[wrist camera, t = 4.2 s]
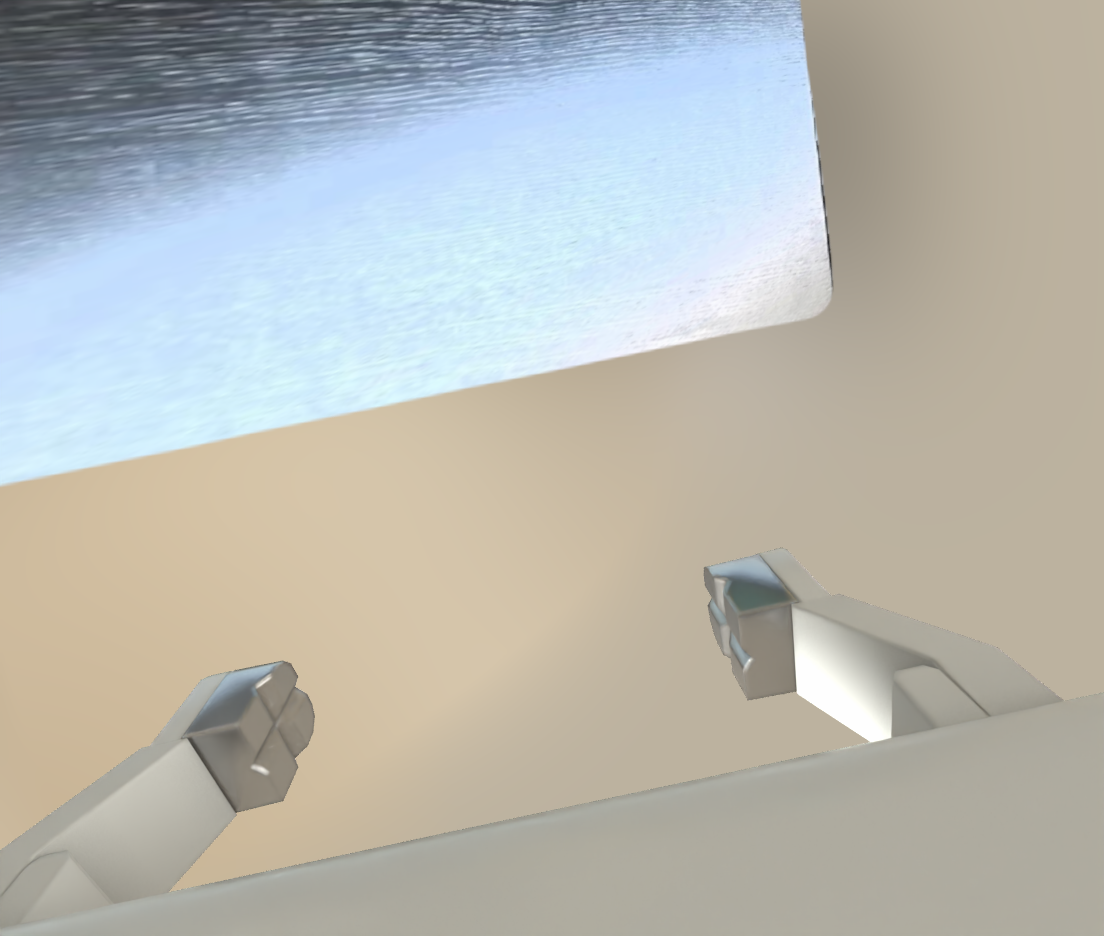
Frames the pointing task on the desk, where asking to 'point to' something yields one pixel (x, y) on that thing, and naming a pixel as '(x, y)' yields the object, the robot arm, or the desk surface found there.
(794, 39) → the desk surface
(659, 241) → the desk surface
